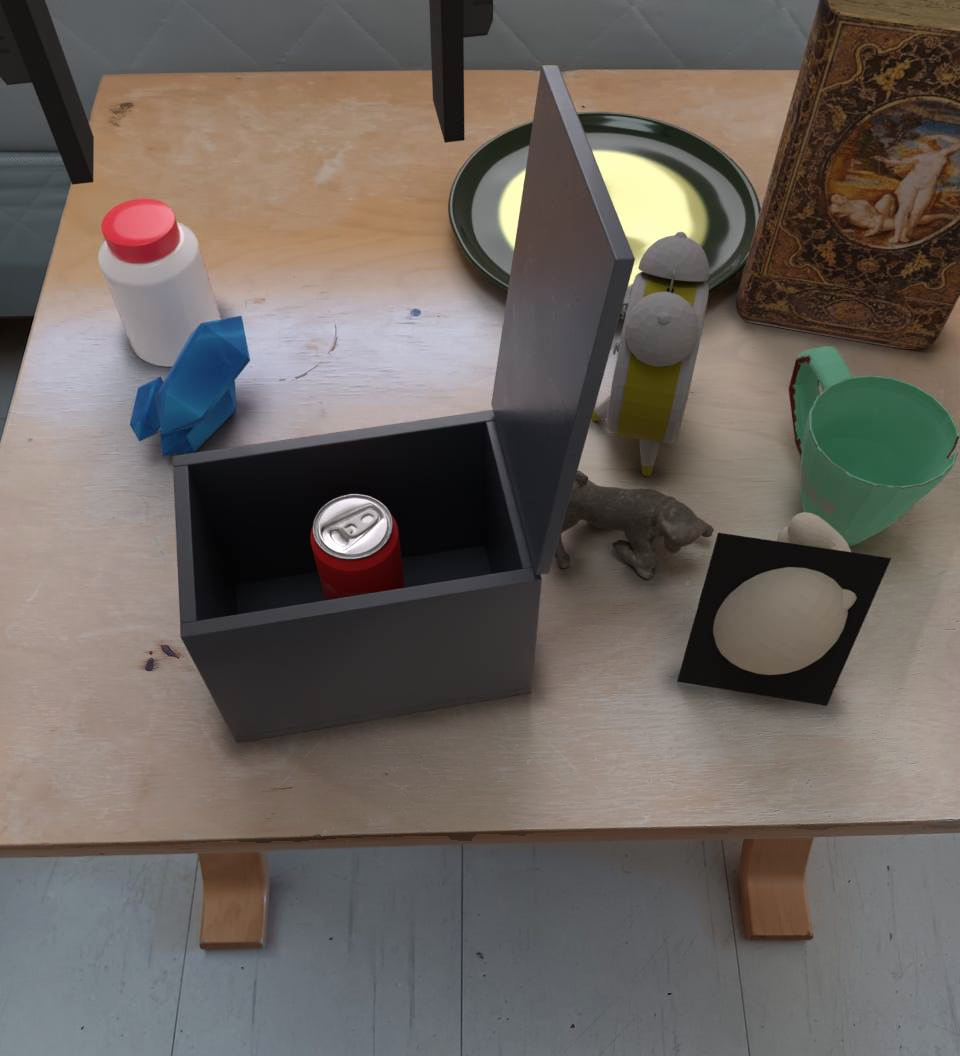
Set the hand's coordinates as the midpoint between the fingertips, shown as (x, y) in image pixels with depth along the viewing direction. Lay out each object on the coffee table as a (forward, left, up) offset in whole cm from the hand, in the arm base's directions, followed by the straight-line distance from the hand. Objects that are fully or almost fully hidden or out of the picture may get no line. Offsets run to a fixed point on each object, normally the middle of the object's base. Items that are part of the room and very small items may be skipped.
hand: (269, 141), depth 37 cm
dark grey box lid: (+10, +4, -12) cm, 16 cm away
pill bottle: (-24, +25, -37) cm, 51 cm away
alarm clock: (+15, +23, -37) cm, 46 cm away
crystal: (-18, +16, -37) cm, 44 cm away
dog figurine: (+16, +11, -37) cm, 42 cm away
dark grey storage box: (0, 0, -37) cm, 37 cm away
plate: (+9, +46, -37) cm, 60 cm away
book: (+30, +39, -37) cm, 62 cm away
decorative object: (+26, +5, -37) cm, 46 cm away
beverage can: (0, 0, -36) cm, 36 cm away
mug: (+30, +19, -37) cm, 52 cm away
